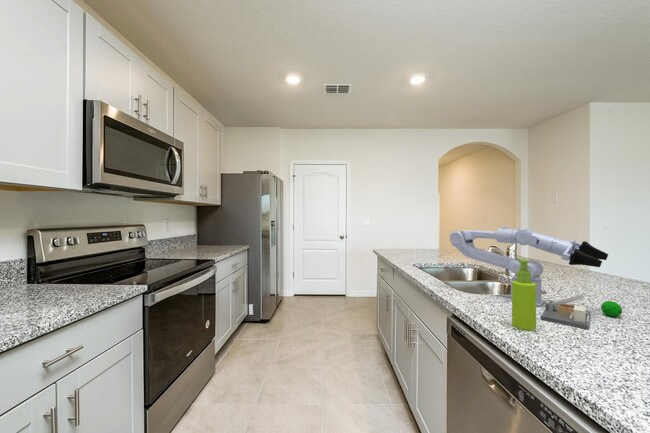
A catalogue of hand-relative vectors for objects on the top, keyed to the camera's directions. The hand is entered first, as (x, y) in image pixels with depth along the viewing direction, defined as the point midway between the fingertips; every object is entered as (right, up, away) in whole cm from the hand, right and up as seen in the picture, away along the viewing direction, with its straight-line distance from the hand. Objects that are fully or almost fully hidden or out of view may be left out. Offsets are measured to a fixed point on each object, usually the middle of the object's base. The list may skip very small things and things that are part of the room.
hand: (604, 260), depth 91 cm
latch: (-13, -17, -6) cm, 22 cm away
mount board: (-12, -19, 0) cm, 22 cm away
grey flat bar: (-11, -14, +1) cm, 18 cm away
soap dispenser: (-32, -19, -7) cm, 37 cm away
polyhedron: (+4, -19, +1) cm, 19 cm away
